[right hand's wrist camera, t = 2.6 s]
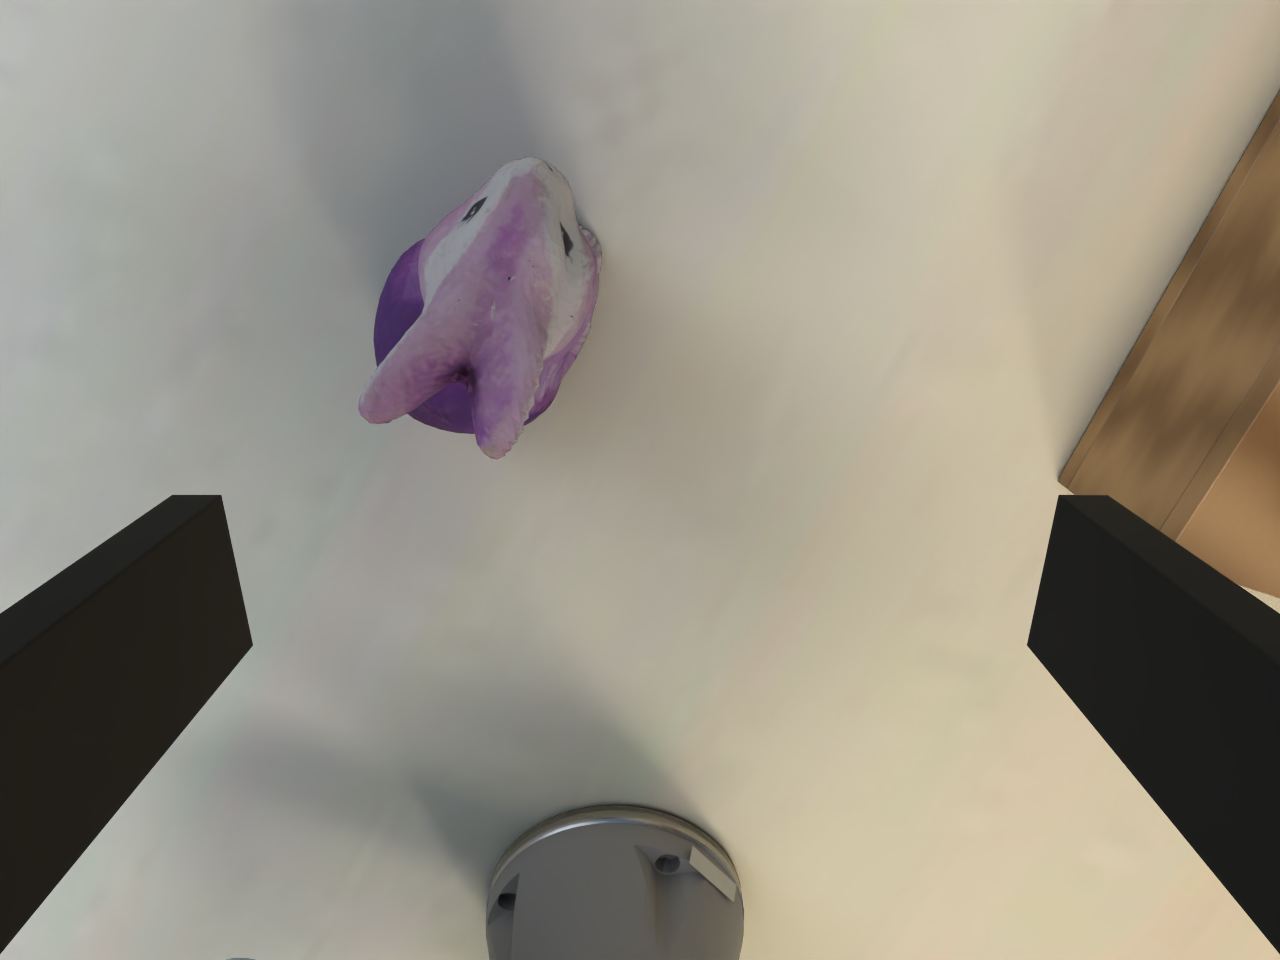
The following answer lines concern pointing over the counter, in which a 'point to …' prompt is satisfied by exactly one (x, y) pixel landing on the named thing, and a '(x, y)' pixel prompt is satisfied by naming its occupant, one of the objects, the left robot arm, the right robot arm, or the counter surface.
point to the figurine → (487, 311)
